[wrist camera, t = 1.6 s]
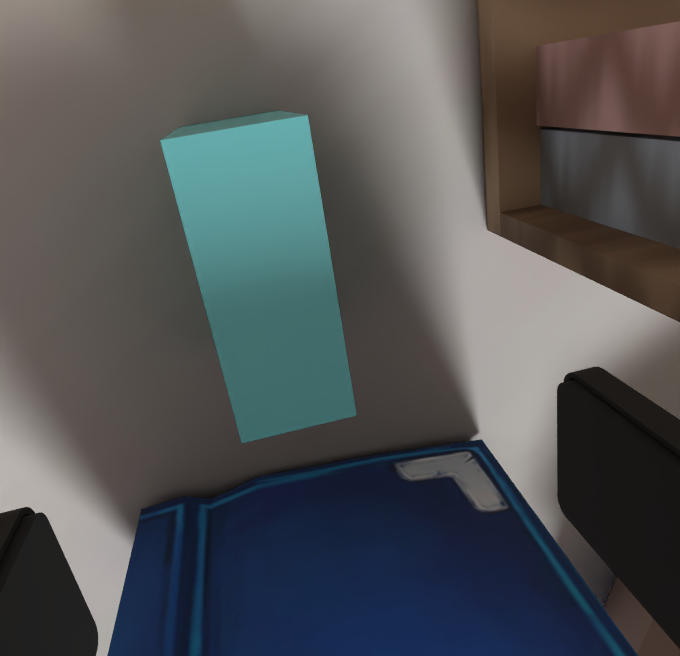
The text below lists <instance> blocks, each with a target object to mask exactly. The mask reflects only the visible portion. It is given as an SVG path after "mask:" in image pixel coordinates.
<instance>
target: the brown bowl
mask: <svg viewBox="0 0 680 656" xmlns="http://www.w3.org/2000/svg"><path fill="white" fill-rule="evenodd" d="M605 610H606V612H607V613H608V615H609V616H610V617H611V619H612V620H613V621H614V623H615V624H616V626H617V627H618V628H619V630H620V631H621V633H622V634H623V635H624V637H625V638H626V639H627V641H628V642H629V644H630V645H631V646H632V648H633V649H634V650H635V652H636V653H637V655H638V656H680V649H679V648H678V647H677V646H676V645H675V643H674V642H673V641H672V640H671V639H670V638H669V636H668V635H667V634H666V633H665V632H664V631H663V629H662V628H661V627H660V626H659V625H658V624H657V622H656V621H655V620H654V619H653V618H652V617H651V615H650V614H649V613H648V612H647V611H646V610H645V608H644V607H643V606H642V605H641V604H640V603H639V601H638V600H637V599H636V598H635V597H634V596H633V594H632V593H631V592H630V591H629V590H628V589H627V587H626V586H625V585H624V584H623V583H622V582H621V581H620V579H619V578H618V577H616V580H615V582H614V584H613V587H612V589H611V591H610V594H609V596H608V598H607V601H606V603H605Z"/></svg>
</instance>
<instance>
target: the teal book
mask: <svg viewBox="0 0 680 656" xmlns="http://www.w3.org/2000/svg"><path fill="white" fill-rule="evenodd" d="M160 142H161V146H162V150H163V153H164V157H165V161H166V164H167V168H168V172H169V176H170V179H171V183H172V187H173V190H174V194H175V198H176V202H177V205H178V209H179V213H180V216H181V220H182V224H183V228H184V231H185V235H186V239H187V242H188V246H189V250H190V254H191V257H192V261H193V265H194V268H195V272H196V276H197V280H198V283H199V287H200V291H201V294H202V298H203V302H204V306H205V309H206V313H207V317H208V320H209V324H210V328H211V332H212V335H213V339H214V343H215V346H216V350H217V354H218V358H219V361H220V365H221V369H222V372H223V376H224V380H225V384H226V387H227V391H228V395H229V398H230V402H231V406H232V410H233V413H234V417H235V421H236V424H237V428H238V432H239V436H240V439H241V443H246V442H250V441H254V440H258V439H262V438H266V437H270V436H275V435H279V434H283V433H287V432H291V431H295V430H299V429H303V428H308V427H312V426H316V425H320V424H324V423H328V422H332V421H336V420H340V419H345V418H349V417H353V416H357V414H356V408H355V402H354V395H353V389H352V383H351V377H350V371H349V365H348V359H347V353H346V346H345V340H344V334H343V328H342V322H341V316H340V310H339V304H338V297H337V291H336V285H335V279H334V273H333V267H332V261H331V255H330V248H329V242H328V236H327V230H326V224H325V218H324V212H323V205H322V199H321V193H320V187H319V181H318V175H317V169H316V163H315V156H314V150H313V144H312V138H311V132H310V126H309V120H308V115H304V114H298V113H292V112H286V111H280V110H278V111H272V112H266V113H260V114H254V115H248V116H243V117H237V118H231V119H225V120H219V121H213V122H207V123H201V124H195V125H190V126H184V127H179V128H178V129H176V130H175V131H173V132H172V133H170V134H169V135H167V136H166V137H164V138H163V139H161V140H160Z"/></svg>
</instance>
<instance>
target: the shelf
mask: <svg viewBox="0 0 680 656" xmlns="http://www.w3.org/2000/svg"><path fill="white" fill-rule="evenodd" d="M478 21H479V44H480V67H481V90H482V113H483V136H484V159H485V183H486V206H487V229H488V230H489V231H491V232H493V233H495V234H497V235H499V236H501V237H503V238H505V239H507V240H509V241H512V242H514V243H516V244H518V245H520V246H522V247H524V248H526V249H528V250H530V251H532V252H534V253H537V254H539V255H541V256H543V257H545V258H547V259H549V260H551V261H553V262H555V263H557V264H560V265H562V266H564V267H566V268H568V269H570V270H572V271H574V272H576V273H578V274H580V275H582V276H585V277H587V278H589V279H591V280H593V281H595V282H597V283H599V284H601V285H603V286H605V287H608V288H610V289H612V290H614V291H616V292H618V293H620V294H622V295H624V296H626V297H628V298H630V299H633V300H635V301H637V302H639V303H641V304H643V305H645V306H647V307H649V308H651V309H653V310H655V311H658V312H660V313H662V314H664V315H666V316H668V317H670V318H672V319H674V320H676V321H678V322H680V0H478Z"/></svg>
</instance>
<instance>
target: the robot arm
mask: <svg viewBox="0 0 680 656" xmlns="http://www.w3.org/2000/svg"><path fill="white" fill-rule="evenodd" d="M557 475H558V501H559V505H560V507H561V510H562V512H563V513H564V515H565V516H566V518H567V519H568V520H569V521H570V522H571V523H572V525H573V526H574V527H575V528H576V529H577V530H578V532H579V533H580V534H581V535H582V536H583V537H584V539H585V540H586V541H587V542H588V543H589V544H590V546H591V547H592V548H593V549H594V550H595V551H596V553H597V554H598V555H599V556H600V557H601V558H602V560H603V561H604V562H605V563H606V564H607V565H608V567H609V568H610V569H611V570H612V571H613V572H614V574H615V575H616V576H617V577H618V578H619V579H620V581H621V582H622V583H623V584H624V585H625V586H626V587H627V589H628V590H629V591H630V592H631V593H632V594H633V596H634V597H635V598H636V599H637V600H638V601H639V603H640V604H641V605H642V606H643V607H644V608H645V610H646V611H647V612H648V613H649V614H650V615H651V617H652V618H653V619H654V620H655V621H656V622H657V624H658V625H659V626H660V627H661V628H662V629H663V631H664V632H665V633H666V634H667V635H668V636H669V638H670V639H671V640H672V641H673V642H674V643H675V645H676V646H677V647H678V648H679V649H680V420H679V419H678V418H676V417H675V416H673V415H672V414H670V413H669V412H667V411H666V410H664V409H663V408H661V407H660V406H658V405H657V404H655V403H654V402H652V401H651V400H649V399H648V398H646V397H645V396H643V395H642V394H640V393H639V392H637V391H635V390H634V389H632V388H631V387H629V386H628V385H626V384H625V383H623V382H622V381H620V380H619V379H617V378H616V377H614V376H613V375H611V374H610V373H608V372H607V371H605V370H604V369H602V368H600V367H592V368H588V369H584V370H580V371H576V372H572V373H568V374H567V375H566V376H565V378H564V382H563V383H560V384H559V386H558V389H557ZM97 647H98V632H97V627H96V624H95V621H94V619H93V617H92V615H91V613H90V610H89V608H88V606H87V604H86V602H85V599H84V597H83V595H82V593H81V591H80V589H79V586H78V584H77V582H76V580H75V578H74V575H73V573H72V571H71V569H70V567H69V564H68V562H67V560H66V558H65V556H64V553H63V551H62V549H61V547H60V545H59V542H58V540H57V538H56V536H55V534H54V531H53V529H52V527H51V525H50V523H49V521H48V519H47V517H46V515H45V514H43V513H36V514H35V512H34V511H33V510H32V509H31V508H29V507H24V508H20V509H16V510H12V511H8V512H4V513H0V656H96V652H97Z"/></svg>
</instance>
